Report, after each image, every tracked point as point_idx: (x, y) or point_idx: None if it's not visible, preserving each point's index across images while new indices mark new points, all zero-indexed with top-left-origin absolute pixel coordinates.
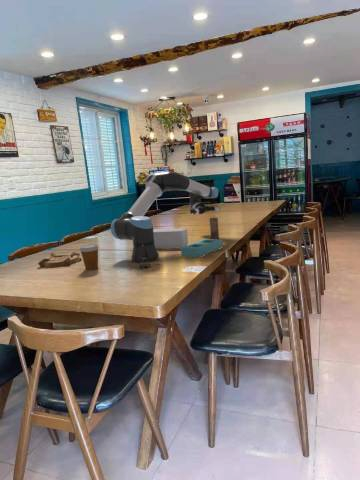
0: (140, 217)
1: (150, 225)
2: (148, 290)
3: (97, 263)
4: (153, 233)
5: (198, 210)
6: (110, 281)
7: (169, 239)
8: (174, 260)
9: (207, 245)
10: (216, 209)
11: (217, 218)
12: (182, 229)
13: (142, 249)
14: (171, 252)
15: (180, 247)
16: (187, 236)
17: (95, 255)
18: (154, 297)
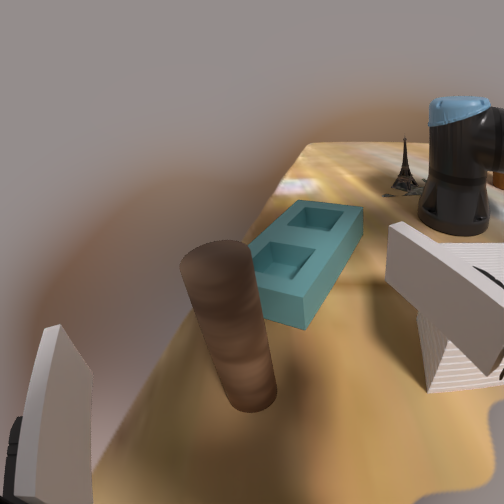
0: (465, 98)
1: (429, 117)
2: (337, 152)
3: (495, 177)
4: (436, 149)
5: (393, 230)
6: (411, 159)
7: None
8: (365, 211)
9: (275, 220)
10: (70, 423)
11: (184, 259)
12: None
13: (406, 148)
14: None
15: None
16: (440, 357)
17: None
18: (321, 147)
